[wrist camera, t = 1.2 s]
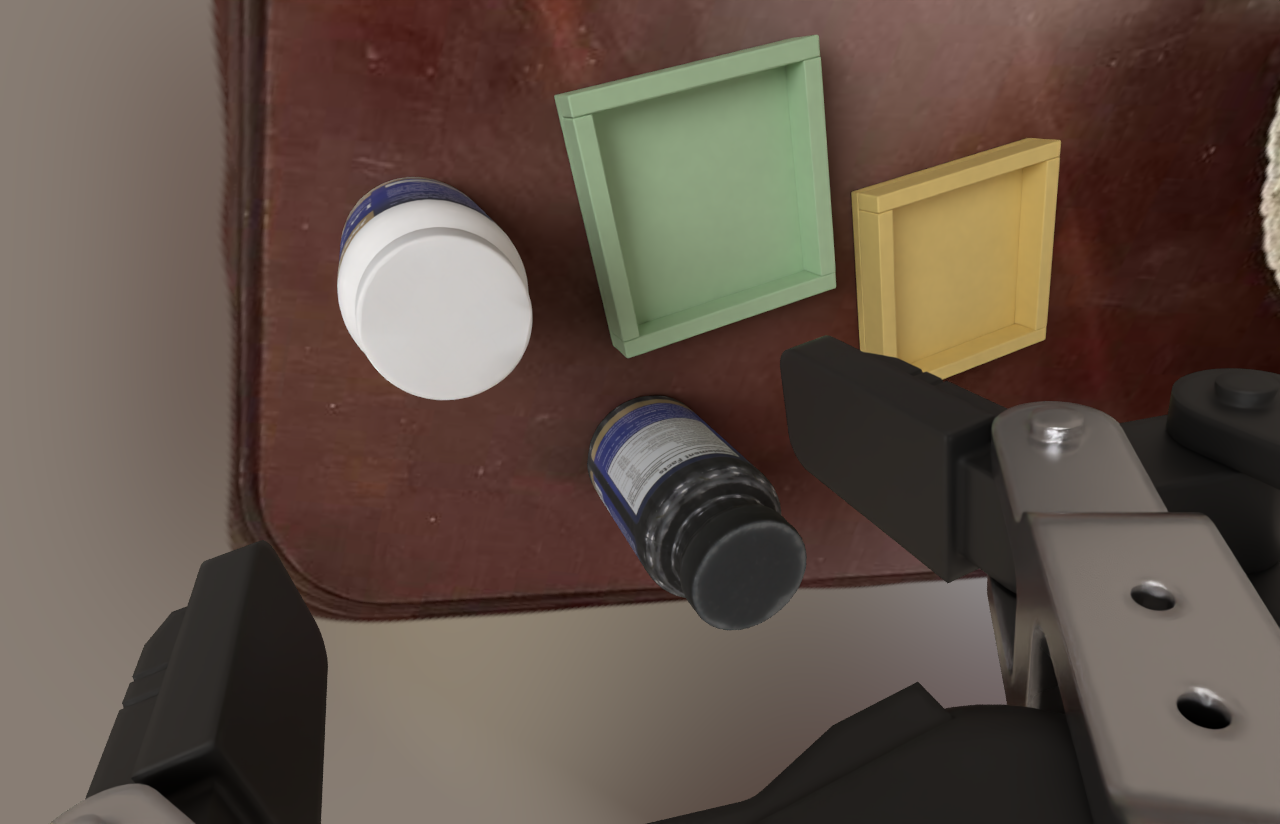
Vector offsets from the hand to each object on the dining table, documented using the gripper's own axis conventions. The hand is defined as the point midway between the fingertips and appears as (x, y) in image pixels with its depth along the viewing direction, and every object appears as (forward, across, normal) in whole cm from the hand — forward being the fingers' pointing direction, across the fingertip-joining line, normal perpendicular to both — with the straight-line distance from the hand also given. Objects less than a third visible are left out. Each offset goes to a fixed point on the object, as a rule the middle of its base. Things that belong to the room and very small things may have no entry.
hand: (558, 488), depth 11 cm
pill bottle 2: (+20, -6, +12) cm, 24 cm away
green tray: (+20, -12, +1) cm, 23 cm away
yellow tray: (+20, -24, +8) cm, 33 cm away
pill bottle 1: (+20, 0, 0) cm, 20 cm away
